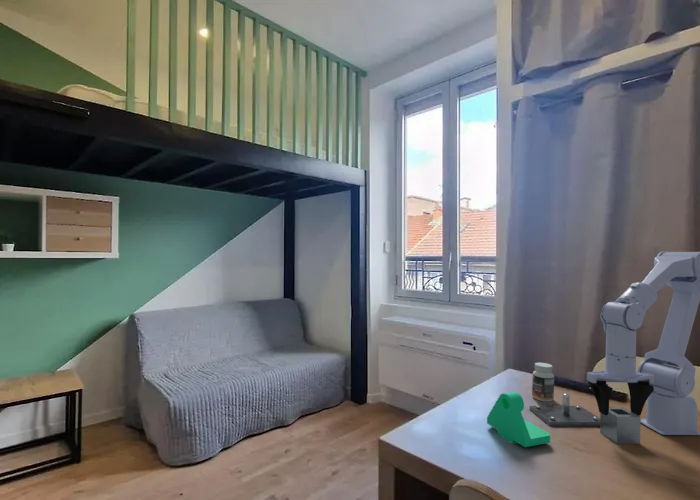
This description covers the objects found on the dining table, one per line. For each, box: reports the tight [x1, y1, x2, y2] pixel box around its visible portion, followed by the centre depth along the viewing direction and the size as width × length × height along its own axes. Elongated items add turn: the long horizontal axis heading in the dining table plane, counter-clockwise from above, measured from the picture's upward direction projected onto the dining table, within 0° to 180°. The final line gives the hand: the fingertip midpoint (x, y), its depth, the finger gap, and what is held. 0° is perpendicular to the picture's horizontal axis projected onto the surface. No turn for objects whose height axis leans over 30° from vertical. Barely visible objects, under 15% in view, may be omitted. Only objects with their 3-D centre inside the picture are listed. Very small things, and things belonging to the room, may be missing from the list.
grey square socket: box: [599, 406, 642, 445], centre depth 89 cm, size 5×5×6 cm
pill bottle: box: [531, 362, 555, 403], centre depth 113 cm, size 6×6×10 cm
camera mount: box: [486, 391, 551, 448], centre depth 89 cm, size 12×8×10 cm, turn 20°
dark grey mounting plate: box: [529, 392, 600, 427], centre depth 100 cm, size 14×10×6 cm
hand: (619, 413), depth 89 cm, fingers open, 7 cm apart
